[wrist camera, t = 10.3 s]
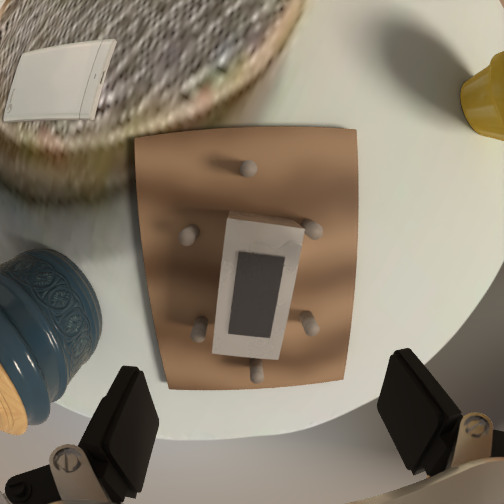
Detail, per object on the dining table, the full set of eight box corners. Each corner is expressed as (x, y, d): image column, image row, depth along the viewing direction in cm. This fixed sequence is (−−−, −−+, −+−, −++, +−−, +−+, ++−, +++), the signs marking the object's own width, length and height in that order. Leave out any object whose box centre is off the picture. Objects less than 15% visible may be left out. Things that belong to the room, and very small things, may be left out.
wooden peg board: (138, 139, 22) (122, 133, 18) (352, 131, 22) (368, 124, 19) (170, 383, 28) (164, 404, 24) (340, 373, 28) (350, 394, 25)
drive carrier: (229, 210, 23) (226, 218, 18) (292, 219, 23) (305, 229, 18) (216, 325, 25) (211, 354, 20) (272, 331, 25) (278, 361, 21)
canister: (99, 374, 27) (32, 492, 10) (15, 327, 26) (-71, 405, 9) (115, 273, 25) (-12, 391, 7) (18, 228, 23) (-110, 280, 6)
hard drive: (1, 121, 19) (88, 118, 20) (22, 51, 17) (113, 36, 18) (11, 123, 21) (96, 121, 22) (30, 55, 19) (119, 43, 20)
